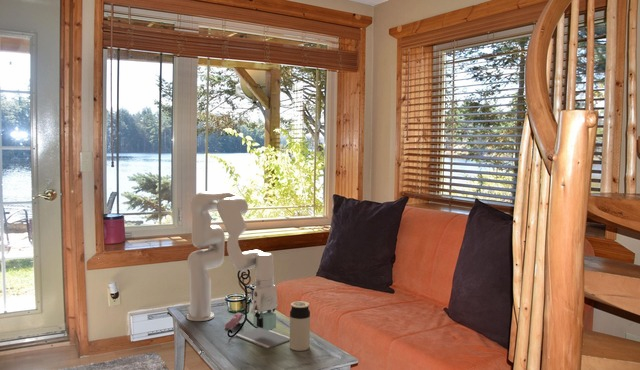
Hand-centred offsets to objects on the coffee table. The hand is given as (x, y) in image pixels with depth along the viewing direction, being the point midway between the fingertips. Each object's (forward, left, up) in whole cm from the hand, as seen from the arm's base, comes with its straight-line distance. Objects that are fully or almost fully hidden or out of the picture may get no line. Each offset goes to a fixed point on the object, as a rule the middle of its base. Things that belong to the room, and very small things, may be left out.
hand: (264, 325), depth 233 cm
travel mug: (+18, +3, -6) cm, 19 cm away
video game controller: (-21, +1, -6) cm, 22 cm away
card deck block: (0, 0, -1) cm, 1 cm away
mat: (0, 0, -6) cm, 6 cm away
